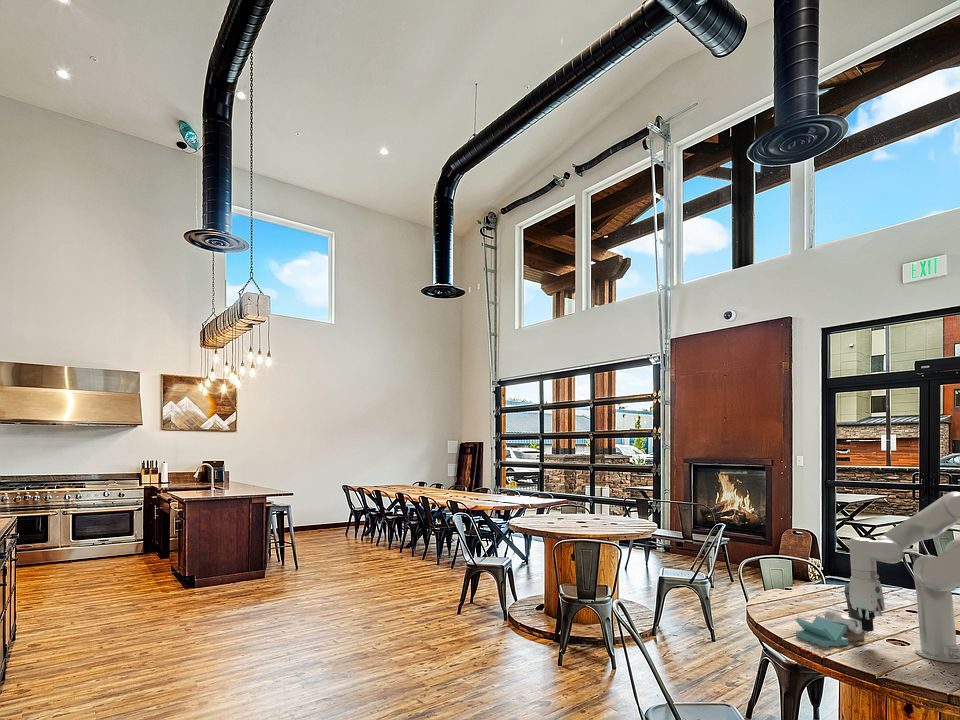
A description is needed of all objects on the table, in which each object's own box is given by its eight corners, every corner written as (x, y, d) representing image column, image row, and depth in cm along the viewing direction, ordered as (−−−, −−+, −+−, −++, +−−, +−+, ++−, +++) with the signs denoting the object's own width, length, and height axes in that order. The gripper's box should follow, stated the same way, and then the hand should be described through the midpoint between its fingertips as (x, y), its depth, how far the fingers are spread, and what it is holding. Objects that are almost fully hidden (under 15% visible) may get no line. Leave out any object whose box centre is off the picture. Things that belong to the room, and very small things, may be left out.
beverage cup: (847, 620, 232) (844, 567, 235) (869, 624, 227) (865, 570, 230) (844, 624, 226) (840, 570, 229) (867, 628, 222) (863, 573, 225)
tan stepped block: (864, 640, 209) (863, 627, 210) (844, 642, 207) (843, 629, 207) (840, 631, 219) (839, 619, 219) (820, 633, 216) (819, 621, 217)
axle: (863, 633, 207) (862, 620, 208) (853, 634, 206) (852, 620, 206) (834, 623, 218) (833, 610, 219) (825, 624, 217) (824, 611, 218)
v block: (848, 645, 203) (847, 625, 204) (824, 647, 201) (822, 628, 201) (819, 634, 215) (818, 616, 216) (796, 636, 212) (795, 618, 213)
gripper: (892, 579, 199) (897, 636, 197) (853, 569, 214) (857, 623, 211) (875, 580, 197) (879, 638, 195) (837, 570, 212) (840, 624, 209)
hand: (867, 630), depth 203 cm, fingers closed
